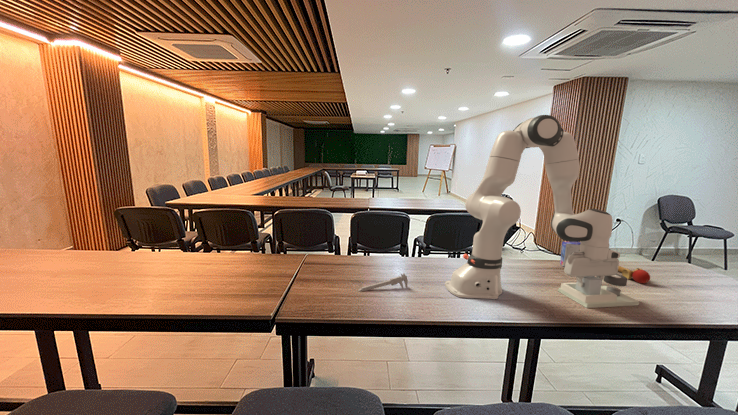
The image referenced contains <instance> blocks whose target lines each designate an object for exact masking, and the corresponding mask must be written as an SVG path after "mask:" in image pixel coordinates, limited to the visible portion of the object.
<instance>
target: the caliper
mask: <svg viewBox="0 0 738 415" xmlns="http://www.w3.org/2000/svg"><path fill="white" fill-rule="evenodd" d="M408 280H409V279H408V276H407V274H406V273H405V272H403V274H402V273H400V275H399V276H396V277H392V278H389V280H385V281H384V280H383V281H380V282H378V283H374V284H370V285H366V286H362V287H361V288H359V289H357V290H358V292H365V291H369V290H373V289H377V288H382V287H385V286H388V285H391V286H396V285H397V284H399V285H400V287H401V288H403V289H404V285H405V288H407V287H408V282H409V281H408ZM403 282H404V285H403Z"/></svg>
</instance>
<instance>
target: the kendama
mask: <svg viewBox="0 0 738 415" xmlns="http://www.w3.org/2000/svg"><path fill="white" fill-rule="evenodd" d="M618 272H619V273H621V275H622V276H624V277H626V278H627V280H631V279H633V281H635V282H636V283H638V284H647V283H648V282H650V281H651V275H650V273H649V272H648V271H646V270H644V269H642V268H640V267H638V268H635V269H634V270H630V269H629V268H626V267H623V266H620V265H619V267H618Z"/></svg>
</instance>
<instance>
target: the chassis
mask: <svg viewBox="0 0 738 415" xmlns="http://www.w3.org/2000/svg"><path fill="white" fill-rule="evenodd" d="M576 282H577V281H576ZM576 282H561V283H560V287H558V290H557V292H558V293H561V294H562V295H564V296H566V297H567V298H569V299H570V300H573V301H574V302H576V303H577V304H580V305H581V306H583V307H585V309H590V308H591V309H593V308H613V307H614V308H615V307H631V306H639V305H640V300H637V299H635V298H633V297H631V296H628V294H627V295H626V294H624V293H622V292H621V291H622V290H621V288H618V287H615V286H607V285H601V291H600V294H599V295H586V294H585V293H583V292H581V291H579V290H577V289H576Z"/></svg>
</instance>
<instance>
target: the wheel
mask: <svg viewBox="0 0 738 415" xmlns="http://www.w3.org/2000/svg"><path fill="white" fill-rule="evenodd" d="M603 281H604V282H605V283H607V284H608V285H612V286H617V287H627V283H628V279H627V278H626V277H624V276H623V275H622V274H618V273H616V275H613V276H604V278H603Z"/></svg>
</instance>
